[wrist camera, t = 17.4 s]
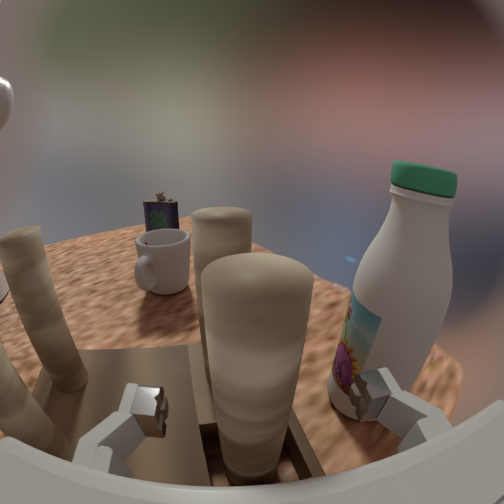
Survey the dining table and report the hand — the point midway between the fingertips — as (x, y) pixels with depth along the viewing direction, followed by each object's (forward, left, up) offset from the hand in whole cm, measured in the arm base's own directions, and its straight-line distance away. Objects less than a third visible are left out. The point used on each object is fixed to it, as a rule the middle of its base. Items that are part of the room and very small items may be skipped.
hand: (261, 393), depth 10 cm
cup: (-6, +29, -11) cm, 31 cm away
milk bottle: (+12, +5, -11) cm, 17 cm away
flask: (-7, +53, -11) cm, 54 cm away
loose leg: (0, +1, -11) cm, 11 cm away
